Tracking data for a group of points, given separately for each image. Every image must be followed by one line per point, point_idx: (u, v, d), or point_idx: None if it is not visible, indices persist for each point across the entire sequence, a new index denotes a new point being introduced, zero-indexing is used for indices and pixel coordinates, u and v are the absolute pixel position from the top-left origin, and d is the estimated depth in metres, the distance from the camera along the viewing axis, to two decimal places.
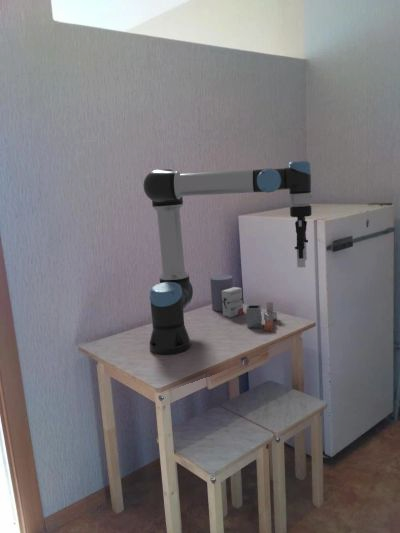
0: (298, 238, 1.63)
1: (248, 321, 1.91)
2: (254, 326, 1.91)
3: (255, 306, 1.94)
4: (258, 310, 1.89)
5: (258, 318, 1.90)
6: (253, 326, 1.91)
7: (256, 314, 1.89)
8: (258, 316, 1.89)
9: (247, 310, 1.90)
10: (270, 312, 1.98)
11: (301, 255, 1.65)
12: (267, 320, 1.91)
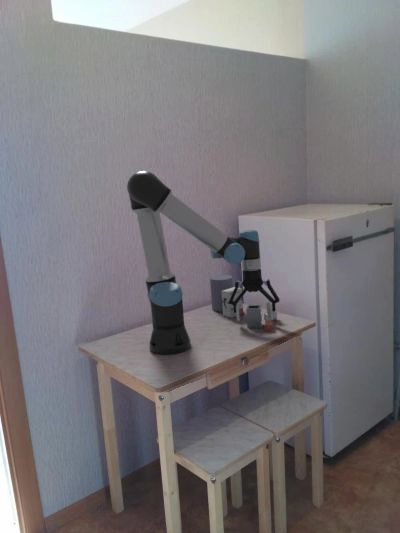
0: None
1: (248, 321, 1.91)
2: (254, 326, 1.91)
3: (255, 306, 1.94)
4: (258, 310, 1.89)
5: (258, 318, 1.90)
6: (253, 326, 1.91)
7: (256, 314, 1.89)
8: (258, 316, 1.89)
9: (247, 310, 1.90)
10: (270, 312, 1.98)
11: None
12: (267, 320, 1.91)
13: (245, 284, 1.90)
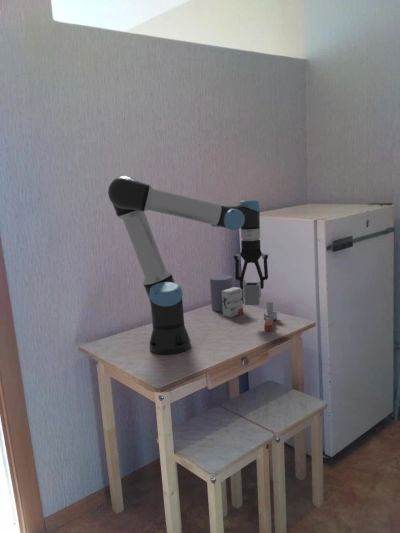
0: None
1: (246, 298, 1.89)
2: (252, 303, 1.89)
3: (253, 283, 1.92)
4: (256, 287, 1.87)
5: (256, 295, 1.88)
6: (251, 303, 1.89)
7: (254, 291, 1.88)
8: (256, 293, 1.88)
9: (245, 287, 1.88)
10: (270, 312, 1.98)
11: None
12: (267, 320, 1.91)
13: (244, 254, 1.87)
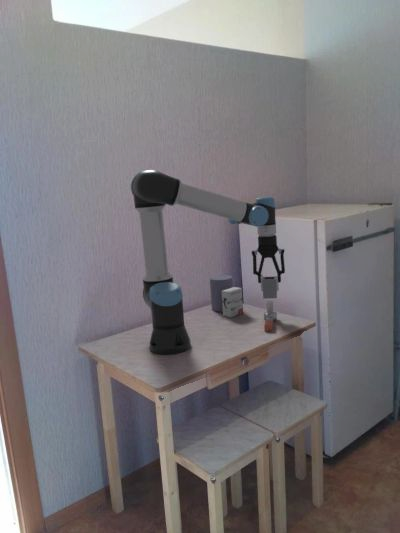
0: None
1: (264, 292, 1.95)
2: (270, 296, 1.95)
3: (270, 277, 1.98)
4: (274, 281, 1.93)
5: (274, 288, 1.94)
6: (269, 296, 1.95)
7: (272, 285, 1.94)
8: (274, 286, 1.94)
9: (263, 281, 1.94)
10: (270, 312, 1.98)
11: None
12: (267, 320, 1.91)
13: (261, 250, 1.94)
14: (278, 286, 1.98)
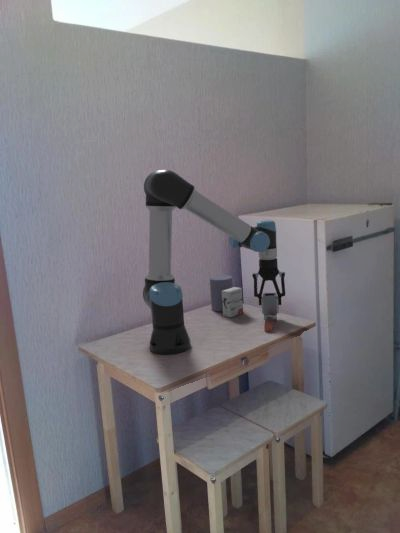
0: None
1: (264, 308, 1.97)
2: (270, 313, 1.96)
3: (271, 294, 2.00)
4: (274, 297, 1.95)
5: (274, 305, 1.95)
6: (269, 313, 1.96)
7: (272, 301, 1.95)
8: (274, 303, 1.95)
9: (263, 297, 1.96)
10: None
11: None
12: (267, 320, 1.91)
13: (261, 272, 1.96)
14: None
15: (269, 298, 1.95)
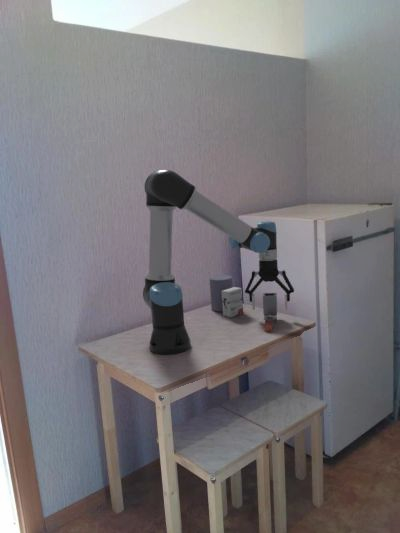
0: None
1: (264, 308, 1.97)
2: (270, 313, 1.96)
3: (271, 294, 2.00)
4: (274, 297, 1.95)
5: (274, 305, 1.95)
6: (269, 313, 1.96)
7: (272, 301, 1.95)
8: (274, 303, 1.95)
9: (263, 297, 1.96)
10: None
11: None
12: (267, 320, 1.91)
13: (261, 274, 1.96)
14: None
15: (269, 298, 1.95)
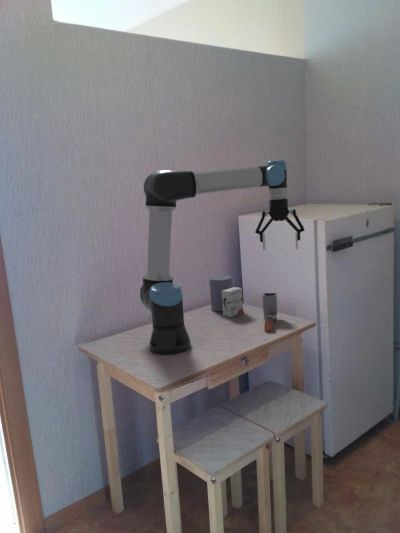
0: None
1: (264, 308, 1.97)
2: (270, 313, 1.96)
3: (271, 294, 2.00)
4: (274, 297, 1.95)
5: (274, 305, 1.95)
6: (269, 313, 1.96)
7: (272, 301, 1.95)
8: (274, 303, 1.95)
9: (263, 297, 1.96)
10: None
11: None
12: (267, 320, 1.91)
13: (272, 213, 1.97)
14: None
15: (269, 298, 1.95)
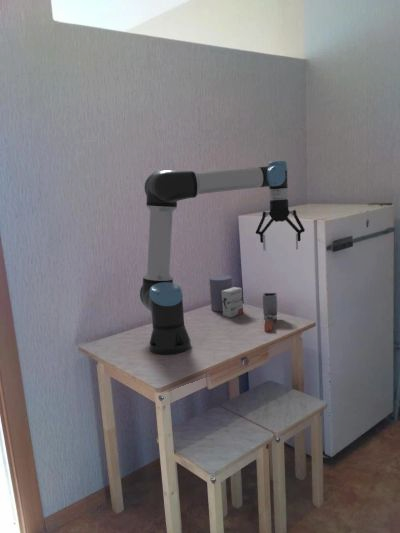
0: None
1: (264, 308, 1.97)
2: (270, 313, 1.96)
3: (271, 294, 2.00)
4: (274, 297, 1.95)
5: (274, 305, 1.95)
6: (269, 313, 1.96)
7: (272, 301, 1.95)
8: (274, 303, 1.95)
9: (263, 297, 1.96)
10: None
11: None
12: (267, 320, 1.91)
13: (272, 214, 1.97)
14: None
15: (269, 298, 1.95)
